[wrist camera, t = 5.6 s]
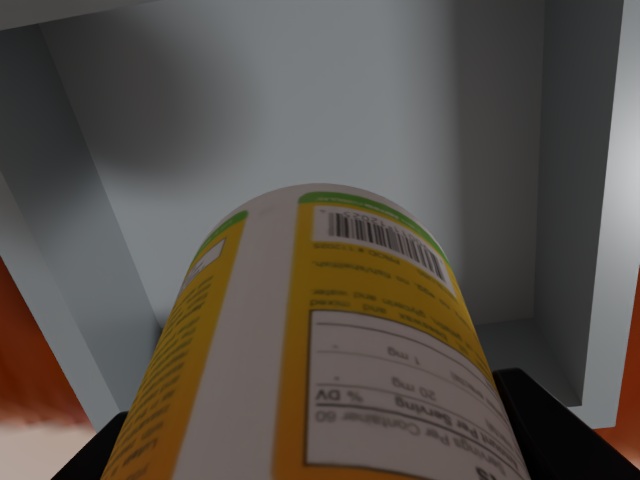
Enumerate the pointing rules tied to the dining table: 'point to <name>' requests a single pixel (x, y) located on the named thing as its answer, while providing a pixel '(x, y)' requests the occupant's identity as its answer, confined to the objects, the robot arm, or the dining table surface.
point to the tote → (325, 162)
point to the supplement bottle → (318, 355)
